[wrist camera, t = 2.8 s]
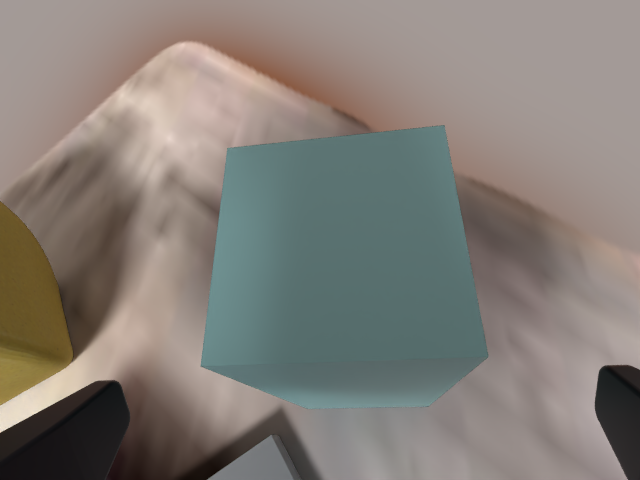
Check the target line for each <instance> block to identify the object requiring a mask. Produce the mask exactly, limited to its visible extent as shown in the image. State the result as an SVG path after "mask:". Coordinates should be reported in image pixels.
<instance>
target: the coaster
mask: <svg viewBox="0 0 640 480" xmlns="http://www.w3.org/2000/svg"><path fill="white" fill-rule="evenodd" d="M207 480H301V478H300V476H299V474H298V472H297V470H296V468H295V466H294V464H293V462H292V461H291V459H290V457H289V455H288V453H287V451H286V449H285V447H284V445H283V443H282V441H281V439H280V437H279V435H270V436H269V437H267V438H266V439H264V440H263V441H262V442H260V443H259V444H257V445H256V446H254V447H253V448H252V449H250V450H249V451H247V452H246V453H244V454H243V455H242V456H240V457H239V458H237V459H236V460H234V461H233V462H232V463H230V464H229V465H227V466H226V467H224V468H223V469H222V470H220V471H219V472H217V473H216V474H214V475H213V476H212V477H210V478H209V479H207Z"/></svg>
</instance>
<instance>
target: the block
mask: <svg viewBox="0 0 640 480" xmlns="http://www.w3.org/2000/svg"><path fill="white" fill-rule="evenodd" d="M487 358H488V352H487V347H486V341H485V336H484V331H483V326H482V320H481V315H480V310H479V305H478V299H477V294H476V289H475V284H474V278H473V273H472V268H471V263H470V257H469V252H468V247H467V242H466V236H465V231H464V226H463V221H462V215H461V210H460V205H459V200H458V194H457V189H456V184H455V179H454V173H453V168H452V163H451V158H450V153H449V147H448V142H447V137H446V132H445V126H444V125H441V126H432V127H423V128H413V129H404V130H395V131H385V132H375V133H366V134H356V135H347V136H338V137H328V138H319V139H309V140H300V141H291V142H281V143H272V144H262V145H253V146H244V147H234V148H227V156H226V164H225V173H224V181H223V189H222V197H221V205H220V213H219V221H218V229H217V238H216V246H215V254H214V262H213V270H212V278H211V286H210V294H209V303H208V311H207V319H206V327H205V335H204V343H203V351H202V359H201V367H204V368H206V369H209V370H211V371H214V372H216V373H219V374H221V375H224V376H226V377H229V378H231V379H234V380H236V381H239V382H241V383H244V384H246V385H249V386H251V387H254V388H256V389H259V390H261V391H264V392H267V393H269V394H272V395H274V396H277V397H279V398H282V399H284V400H287V401H289V402H292V403H294V404H297V405H299V406H302V407H304V408H307V409H322V408H378V407H428V406H429V405H431V404H432V403H433V402H434V401H436V400H437V399H438V398H439V397H440V396H442V395H443V394H444V393H445V392H446V391H448V390H449V389H450V388H451V387H453V386H454V385H455V384H456V383H457V382H459V381H460V380H461V379H462V378H463V377H465V376H466V375H467V374H468V373H470V372H471V371H472V370H473V369H474V368H476V367H477V366H478V365H479V364H480V363H482V362H483V361H484V360H485V359H487Z"/></svg>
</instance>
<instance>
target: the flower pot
mask: <svg viewBox="0 0 640 480" xmlns="http://www.w3.org/2000/svg"><path fill="white" fill-rule="evenodd" d="M72 359H73V349H72V345H71V341H70V337H69V333H68V329H67V324H66V320H65V316H64V311H63V307H62V302H61V297H60V292H59V287H58V284H57V281H56V278H55V276H54V273H53V271H52V268H51V266H50V263H49V261H48V259H47V257H46V255H45V253H44V251H43V249H42V248H41V246H40V244H39V243H38V241H37V240H36V238H35V237H34V235H33V234H32V233H31V231H30V230H29V229H28V228H27V227H26V225H25V224H24V223H23V222H22V221H21V220H20V219H19V218H18V216H16V215H15V214H14V213H13V212H12V211H11V210H10V209H9V208H8V207H6V206H5V205H4V204H3V203H2V202H0V405H2V404H3V403H5V402H7V401H9V400H10V399H12V398H14V397H15V396H17V395H19V394H21V393H22V392H24V391H26V390H28V389H29V388H31V387H33V386H35V385H36V384H38V383H40V382H42V381H43V380H45V379H47V378H49V377H51V376H52V375H54V374H56V373H58V372H60V371H61V370H63V369H64V368H66V367H67V366H68V365H69V364H70V363H71V361H72Z"/></svg>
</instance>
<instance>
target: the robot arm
mask: <svg viewBox="0 0 640 480" xmlns="http://www.w3.org/2000/svg"><path fill="white" fill-rule="evenodd" d="M595 411H596V415H597V418H598V420H599V422H600V424H601V426H602V428H603V430H604V432H605V435H606V437H607V439H608V441H609V443H610V445H611V447H612V449H613V451H614V453H615V455H616V457H617V459H618V461H619V463H620V465H621V467H622V469H623V471H624V473H625V475H626V477H627V479H628V480H640V370H639V369H637V368H635V367H633V366H630V365H606V366H603V367H602V368H601V369H600V371H599V374H598V382H597V390H596V397H595ZM129 422H130V411H129V408H128V405H127V402H126V399H125V396H124V393H123V390H122V387H121V384H120V383H119V382H118V381H115V380H104V381H96V382H94V383H92V384H90V385H88V386H86V387H84V388H82V389H81V390H79V391H77V392H75V393H73V394H71V395H69V396H68V397H66V398H64V399H62V400H60V401H58V402H56V403H55V404H53V405H51V406H49V407H47V408H45V409H44V410H42V411H40V412H38V413H36V414H34V415H32V416H31V417H29V418H27V419H25V420H23V421H21V422H19V423H18V424H16V425H14V426H12V427H10V428H8V429H6V430H5V431H3V432H1V433H0V480H106V477H107V475H108V473H109V470H110V468H111V466H112V463H113V461H114V459H115V456H116V454H117V452H118V449H119V447H120V445H121V442H122V440H123V438H124V435H125V433H126V431H127V428H128V426H129Z"/></svg>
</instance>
